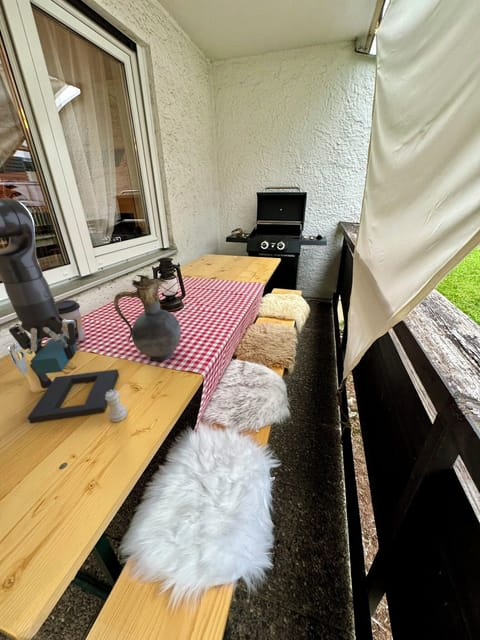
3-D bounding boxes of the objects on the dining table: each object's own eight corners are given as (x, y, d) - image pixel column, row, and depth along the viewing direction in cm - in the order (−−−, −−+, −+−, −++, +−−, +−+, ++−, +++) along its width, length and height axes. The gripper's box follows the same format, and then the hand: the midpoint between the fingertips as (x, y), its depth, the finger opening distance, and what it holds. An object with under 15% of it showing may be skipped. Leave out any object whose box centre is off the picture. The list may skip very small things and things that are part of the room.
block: (36, 374, 61) (30, 360, 59) (56, 350, 70) (50, 338, 68) (62, 371, 62) (56, 358, 60) (78, 348, 70) (73, 336, 68)
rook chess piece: (108, 424, 65) (99, 401, 61) (110, 411, 69) (102, 388, 65) (127, 420, 66) (119, 397, 62) (128, 407, 70) (121, 385, 66)
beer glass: (61, 382, 80) (42, 341, 73) (36, 397, 74) (13, 354, 67) (49, 375, 83) (30, 335, 76) (24, 388, 77) (2, 347, 71)
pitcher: (183, 362, 87) (169, 277, 73) (124, 367, 85) (99, 281, 72) (185, 344, 97) (173, 266, 83) (132, 349, 95) (112, 270, 81)
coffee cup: (87, 330, 109) (75, 297, 102) (92, 338, 102) (80, 304, 95) (61, 337, 104) (47, 303, 97) (65, 347, 97) (50, 311, 90)
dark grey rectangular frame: (30, 423, 66) (27, 417, 65) (57, 381, 80) (55, 376, 79) (104, 412, 69) (102, 407, 68) (118, 374, 83) (117, 369, 82)
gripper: (73, 289, 62) (93, 348, 70) (6, 293, 60) (35, 354, 68) (59, 301, 55) (83, 364, 63) (-16, 307, 53) (18, 372, 61)
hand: (58, 358), depth 65 cm, fingers closed on block, 5 cm apart
